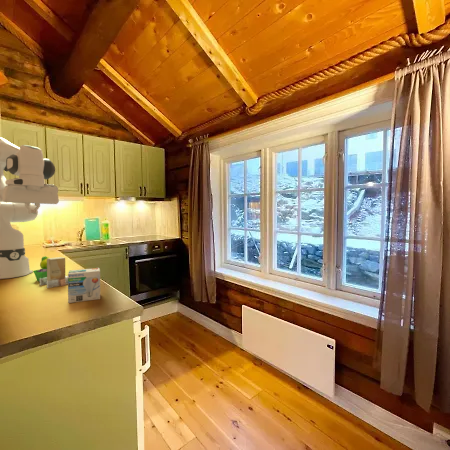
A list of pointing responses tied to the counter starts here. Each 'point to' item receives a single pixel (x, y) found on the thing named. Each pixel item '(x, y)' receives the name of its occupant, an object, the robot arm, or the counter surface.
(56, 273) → the skincare box
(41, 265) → the fruit basket
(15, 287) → the counter surface
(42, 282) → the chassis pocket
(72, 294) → the light bulb box
